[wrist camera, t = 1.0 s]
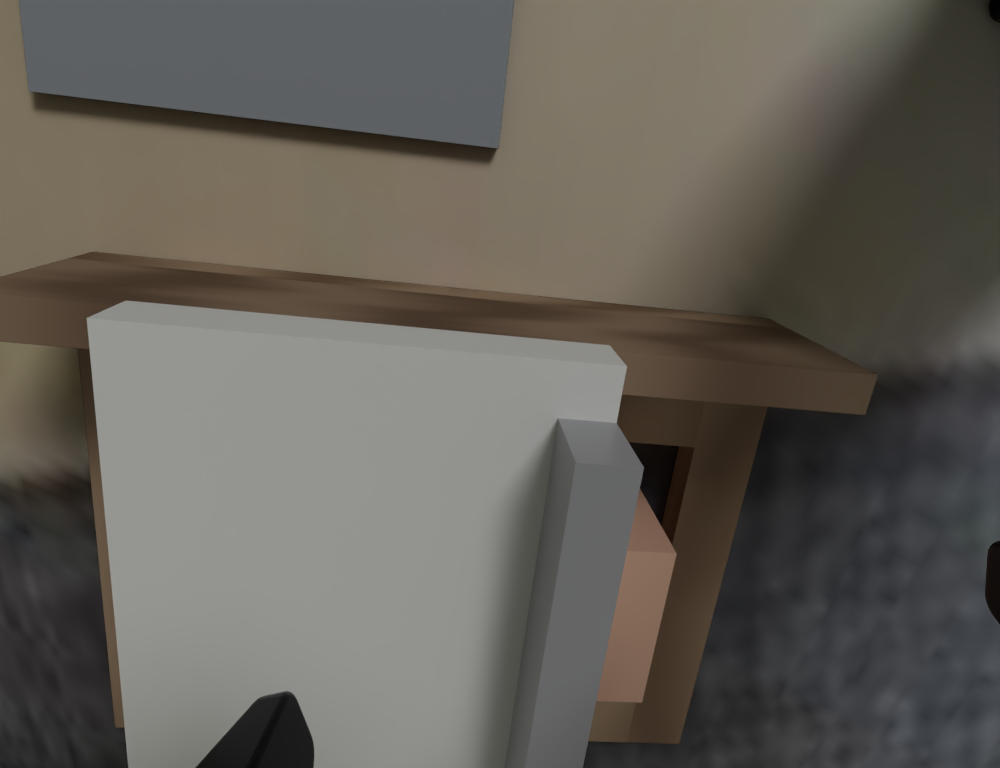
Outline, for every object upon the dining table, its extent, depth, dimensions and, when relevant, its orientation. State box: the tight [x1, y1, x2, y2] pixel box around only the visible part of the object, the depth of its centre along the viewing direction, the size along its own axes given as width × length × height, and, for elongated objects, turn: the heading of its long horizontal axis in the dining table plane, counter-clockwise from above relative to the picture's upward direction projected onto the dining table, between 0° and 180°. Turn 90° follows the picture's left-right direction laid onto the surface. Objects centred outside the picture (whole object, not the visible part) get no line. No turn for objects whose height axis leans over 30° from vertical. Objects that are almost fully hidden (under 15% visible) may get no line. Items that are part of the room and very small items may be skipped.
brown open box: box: [0, 252, 878, 744], centre depth 19 cm, size 20×16×6 cm
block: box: [596, 489, 677, 703], centre depth 20 cm, size 5×5×5 cm
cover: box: [87, 301, 644, 768], centre depth 15 cm, size 10×16×4 cm, turn 174°
